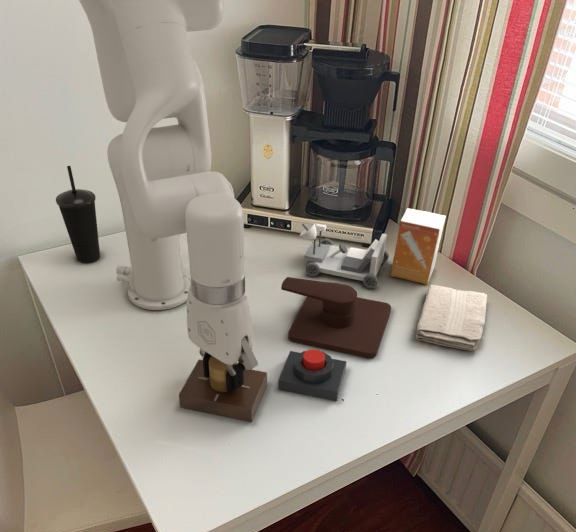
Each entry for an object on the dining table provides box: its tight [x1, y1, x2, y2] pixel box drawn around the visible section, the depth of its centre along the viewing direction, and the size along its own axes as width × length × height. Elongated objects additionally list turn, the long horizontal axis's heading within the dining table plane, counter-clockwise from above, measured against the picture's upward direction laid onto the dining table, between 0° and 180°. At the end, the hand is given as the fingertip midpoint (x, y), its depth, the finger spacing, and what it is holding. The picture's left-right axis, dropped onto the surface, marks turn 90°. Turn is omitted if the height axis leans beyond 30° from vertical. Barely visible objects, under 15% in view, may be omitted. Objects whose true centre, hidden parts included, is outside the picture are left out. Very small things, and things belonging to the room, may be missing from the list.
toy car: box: [299, 222, 390, 290], centre depth 128 cm, size 18×10×12 cm
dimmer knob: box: [209, 356, 238, 392], centre depth 97 cm, size 4×4×5 cm
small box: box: [390, 207, 447, 286], centre depth 126 cm, size 8×6×13 cm
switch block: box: [277, 350, 347, 402], centre depth 103 cm, size 10×8×4 cm
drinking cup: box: [55, 165, 101, 264], centre depth 124 cm, size 8×8×20 cm
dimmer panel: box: [178, 359, 268, 423], centre depth 99 cm, size 12×9×3 cm
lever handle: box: [280, 276, 392, 359], centre depth 114 cm, size 16×7×20 cm
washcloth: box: [415, 284, 488, 352], centre depth 117 cm, size 12×18×3 cm, turn 163°
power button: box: [303, 348, 325, 371], centre depth 101 cm, size 4×4×2 cm
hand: (223, 379), depth 98 cm, fingers closed on dimmer knob, 4 cm apart
